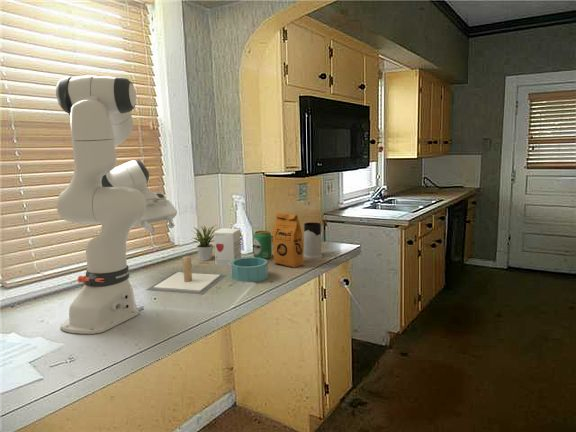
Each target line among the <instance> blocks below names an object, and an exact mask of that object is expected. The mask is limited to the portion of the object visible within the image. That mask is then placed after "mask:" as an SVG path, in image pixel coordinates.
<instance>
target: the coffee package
mask: <svg viewBox="0 0 576 432" xmlns="http://www.w3.org/2000/svg"><path fill="white" fill-rule="evenodd" d="M275 217H276V220H275V222H274V226H273V231H272V240H273V241H272V245H273V247H272V248H273V263H274V264H277V265H281V266H285V267H290V268H293V269H295V268H297V267H301V266H303V265H304V257H303V255H304V239H303V233H302V229H301V223H300V221H299V218H298V215H297V214H288V213H281V212H279V213H278V212H277V213H276V214H275Z"/></svg>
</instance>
